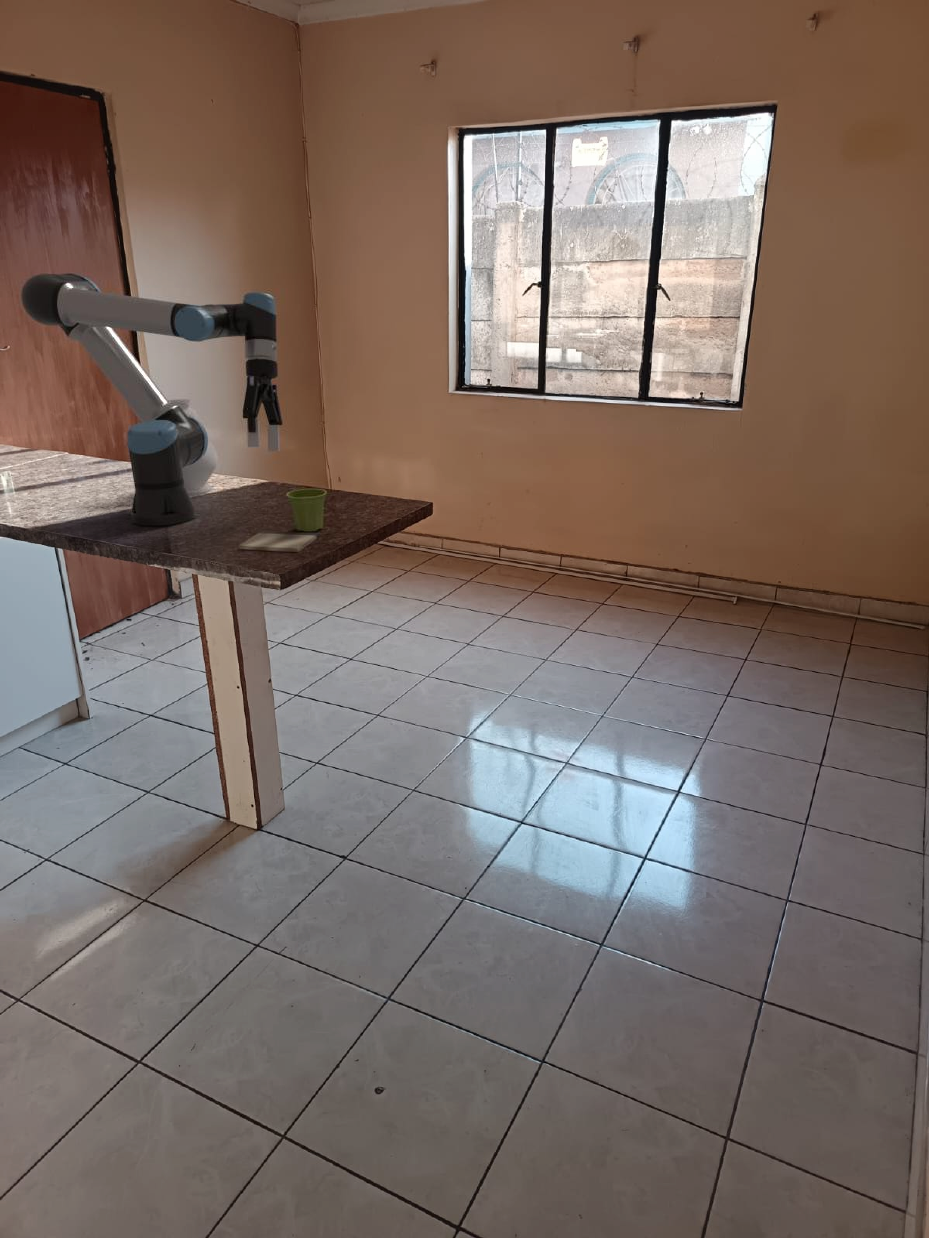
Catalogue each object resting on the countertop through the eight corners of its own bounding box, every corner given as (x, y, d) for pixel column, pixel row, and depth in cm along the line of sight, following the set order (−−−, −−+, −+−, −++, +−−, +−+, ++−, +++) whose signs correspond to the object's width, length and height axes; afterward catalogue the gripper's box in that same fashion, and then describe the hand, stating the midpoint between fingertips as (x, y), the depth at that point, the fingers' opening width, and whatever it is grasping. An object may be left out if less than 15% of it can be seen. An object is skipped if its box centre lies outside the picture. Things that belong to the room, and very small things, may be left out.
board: (238, 549, 191) (238, 545, 190) (262, 534, 202) (262, 530, 201) (298, 552, 188) (297, 548, 187) (318, 537, 199) (318, 533, 198)
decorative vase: (207, 481, 258) (197, 395, 249) (231, 491, 244) (220, 401, 235) (147, 490, 248) (134, 401, 239) (168, 501, 235) (155, 407, 225)
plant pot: (291, 535, 200) (287, 499, 197) (287, 525, 209) (284, 490, 206) (331, 532, 202) (328, 495, 199) (326, 522, 211) (324, 487, 208)
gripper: (257, 350, 197) (260, 444, 200) (293, 369, 222) (295, 452, 224) (226, 351, 198) (229, 445, 201) (265, 369, 223) (267, 453, 225)
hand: (264, 449), depth 213 cm, fingers open, 13 cm apart
